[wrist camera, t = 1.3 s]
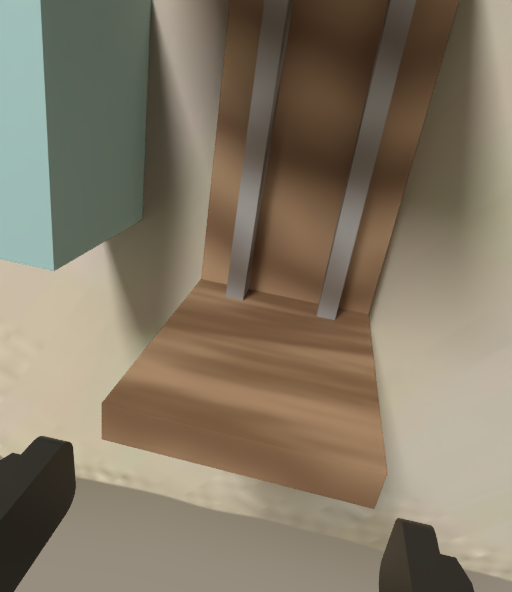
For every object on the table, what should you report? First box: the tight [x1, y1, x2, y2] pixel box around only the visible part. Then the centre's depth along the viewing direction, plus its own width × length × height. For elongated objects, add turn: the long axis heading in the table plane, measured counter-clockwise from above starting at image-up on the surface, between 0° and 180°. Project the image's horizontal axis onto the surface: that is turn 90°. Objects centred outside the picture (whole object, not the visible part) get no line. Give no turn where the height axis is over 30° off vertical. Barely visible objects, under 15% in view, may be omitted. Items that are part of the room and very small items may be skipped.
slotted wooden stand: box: [102, 0, 459, 509], centre depth 21 cm, size 24×12×16 cm, turn 171°
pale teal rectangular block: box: [0, 0, 151, 271], centre depth 25 cm, size 14×4×11 cm, turn 171°
